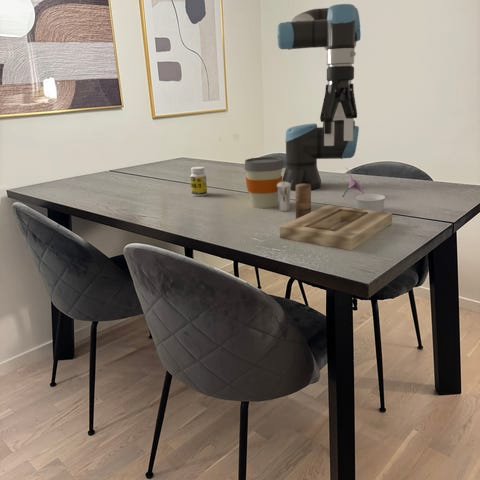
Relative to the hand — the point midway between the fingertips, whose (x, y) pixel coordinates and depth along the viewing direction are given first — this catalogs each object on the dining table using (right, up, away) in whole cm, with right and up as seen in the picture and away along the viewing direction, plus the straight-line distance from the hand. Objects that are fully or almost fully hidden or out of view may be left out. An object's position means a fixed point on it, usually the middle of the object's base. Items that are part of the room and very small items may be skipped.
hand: (339, 143), depth 140 cm
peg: (-10, -22, +1) cm, 24 cm away
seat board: (-3, -26, -11) cm, 28 cm away
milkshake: (-15, -19, +12) cm, 27 cm away
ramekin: (+11, -19, +7) cm, 24 cm away
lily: (+11, -13, +26) cm, 31 cm away
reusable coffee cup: (-21, -17, +20) cm, 33 cm away
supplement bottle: (-44, -12, +40) cm, 60 cm away
